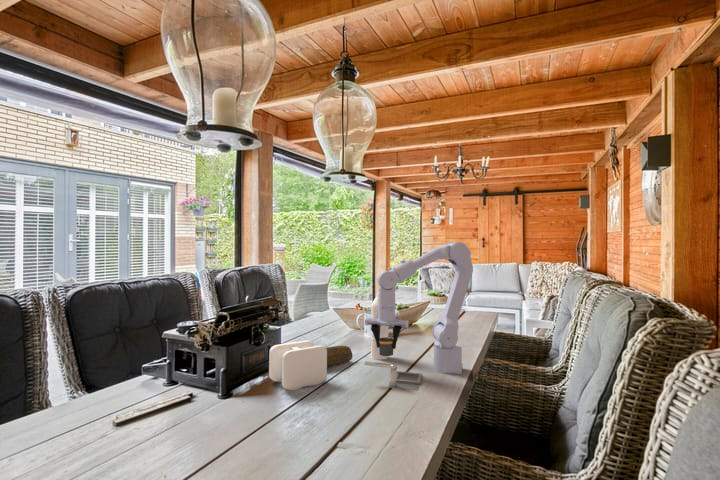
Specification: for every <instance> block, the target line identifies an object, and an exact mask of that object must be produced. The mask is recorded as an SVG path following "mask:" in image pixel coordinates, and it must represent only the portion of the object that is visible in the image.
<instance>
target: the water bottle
mask: <svg viewBox="0 0 720 480" xmlns="http://www.w3.org/2000/svg"><path fill="white" fill-rule="evenodd" d="M378 293H379V291H378V292H376V296H375V298H374V299H373V301H372V302H371V305H370V309H371V314H370V315H371V316H370V317H371V318H378ZM370 331H371V332H370V358H371V359H373V360H378V361H379V360H380V361H381V360H387V359H388V358H389V356H381V355H380V351H379V348H377V344H376V340H375V337H374V334H373V332H372V330H371V329H370ZM384 337H388V338H389V326H380V338H384Z"/></svg>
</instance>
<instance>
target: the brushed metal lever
mask: <svg viewBox="0 0 720 480" xmlns="http://www.w3.org/2000/svg"><path fill="white" fill-rule="evenodd" d="M364 366H370V367H377V368H388V369H390V370H391V369H396V370H397V369H398V364H396V363H383V362H375V361H367V360H365V361H364Z"/></svg>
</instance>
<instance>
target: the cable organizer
mask: <svg viewBox="0 0 720 480" xmlns="http://www.w3.org/2000/svg"><path fill="white" fill-rule="evenodd" d="M326 348H327V347H325V346H323V345H315V343H314V342H313V341H311V340H309V339H307V340H299V341H294V342H293V341H291V342H287V343H281V344H280V343H279V344H275V345H272V346H271V347H270V348H269V353H268V354H269V355H268V359H269V361H268V363H269V364H268V377H269V379H271V381H273V382H278V383H281V385H282V387H283V388H284V389H286V390H290V391H291V392H292V391H296V390H300V389H302V388H303V387H307V386H310V387H312V386H316V385H320V384H321V383H323V382H325V381H326V379H327V377H328V372H327V371H328V367H327V349H326Z"/></svg>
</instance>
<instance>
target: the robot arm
mask: <svg viewBox="0 0 720 480" xmlns="http://www.w3.org/2000/svg"><path fill="white" fill-rule="evenodd" d="M471 254H472V252H471V250H470V248H469V247H468V246H467V245H466V244H465V243H463V242H461V241H458V242H453V241H449V242H446V243H445V244H442V245H438V246H437V247H435V248H433V249H431V250H430V251H428V252H426V253H425V254H422V255H421V256H419V257H417V258H416V259H414V260H410V259H402V260H400V263H398V264H396V265H394V266H393V267H391V266H389V267H388V268H387V269H388V270H383V271H382V272H380V273H378V276H377V279H376V280H377V281H376V282H377V283H378V292H379V293H378V318H365V319H364V325H365V326H370V331H371V330H372V332H373V334H374V337H375V340H376V344H377V348H379V339H380V326H388V327H393V328H392V338H393V350H396V347H397V342H398V338H399V336H400V333H401V330H403V328H405V329H408V328H409V320H405V319H396V287H397V285H398V284H400V283H402V282H404V281H406V280H408V279H410V278H411V277H414V276H416V274H417V272H418V270H419V269H421V268H423V267H425V266H427V265H429V264H431V263H433V262H436V261H439V260H447V261H448V262H449V263H451V265H452V267H453V268H454V270H455V274H454V277H453V281H452V284H451V287H450V291H449V293H448V297H447V300H446V303H445V306H444V309H443V311H442V315H441V316H440V317H439V318H438V321H437V323H436V324H435V325H434V326H433V328H432V331H431V332H432V336H433V337H434V342H433V370H434V371H435V372H438V373H441V374H456V375H462V373H463V372H462V370H463V368H464V366H463V363H462V361H463V360H462V359H463V355H462V354H463V353H462V352H463V351H462V348H463V347H462V346H457V342H458V340H459V336H458V333H459V332H458V331H459V321H458V320H459V317H460V314H461V310H462V307H463V304H464V301H465V298H466V295H467V291H468V289H469V286H470V282H471V278H472V275H473V273H474V267H473V262H472V258H471V257H472V256H471Z"/></svg>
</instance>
